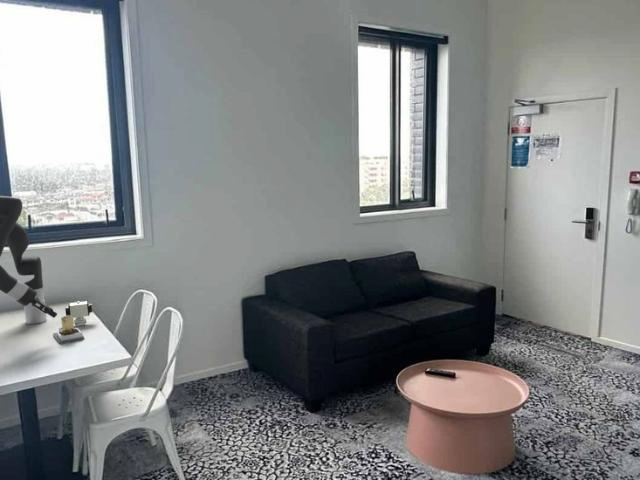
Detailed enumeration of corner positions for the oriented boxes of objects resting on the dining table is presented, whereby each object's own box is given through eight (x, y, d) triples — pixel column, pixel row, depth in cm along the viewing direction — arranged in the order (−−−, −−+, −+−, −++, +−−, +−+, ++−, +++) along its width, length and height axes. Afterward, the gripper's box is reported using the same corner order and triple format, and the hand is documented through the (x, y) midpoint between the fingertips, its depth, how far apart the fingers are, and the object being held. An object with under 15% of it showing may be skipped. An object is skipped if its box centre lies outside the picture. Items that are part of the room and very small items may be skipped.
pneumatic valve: (93, 324, 257) (91, 300, 255) (67, 328, 252) (64, 303, 250) (93, 321, 262) (91, 298, 260) (67, 325, 257) (65, 301, 255)
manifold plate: (53, 335, 241) (52, 329, 240) (76, 331, 247) (75, 324, 246) (59, 344, 229) (59, 337, 228) (84, 339, 235) (83, 332, 234)
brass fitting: (61, 336, 236) (59, 316, 234) (74, 333, 239) (72, 314, 238) (63, 339, 231) (61, 319, 230) (76, 336, 235) (74, 317, 233)
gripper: (30, 288, 217) (63, 310, 226) (25, 283, 229) (56, 303, 237) (17, 303, 215) (51, 324, 224) (12, 297, 226) (44, 317, 235)
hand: (53, 313), depth 230 cm, fingers open, 8 cm apart
